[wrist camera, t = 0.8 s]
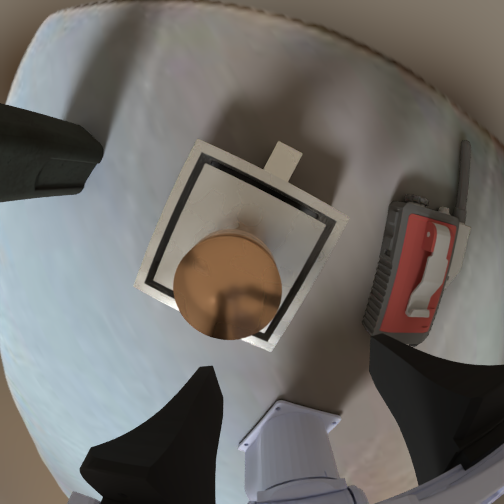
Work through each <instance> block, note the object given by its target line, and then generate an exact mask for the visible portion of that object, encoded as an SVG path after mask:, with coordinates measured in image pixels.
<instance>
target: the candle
mask: <svg viewBox="0 0 504 504" xmlns="http://www.w3.org/2000/svg"><path fill="white" fill-rule="evenodd" d="M102 156H103V148H102V146H101V144H100V143H99V142H98V141H97V140H96V139H95V138H94V137H92V136H91V135H90V134H89V133H88V132H87V131H86V130H85V129H84V128H83V127H81V126H80V125H76V124H73V123H70V122H67V121H63V120H60V119H57V118H53V117H50V116H47V115H43V114H39V113H36V112H32V111H29V110H25V109H21V108H17V107H13V106H9V105H5V104H1V103H0V202H6V201H14V200H22V199H31V198H40V197H51V196H62V195H74V194H78V193H80V192H81V191H82V190H83V188H84V187H83V185H84V183H85V181H86V180H87V178H88V177H89V175H90V174H91V172H92V170H93V169H94V167H95V166H96V164H97V163H98V164H99V163H100V161H101V159H102Z"/></svg>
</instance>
